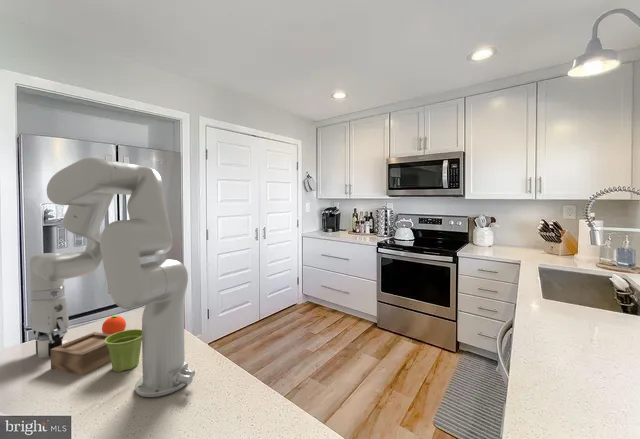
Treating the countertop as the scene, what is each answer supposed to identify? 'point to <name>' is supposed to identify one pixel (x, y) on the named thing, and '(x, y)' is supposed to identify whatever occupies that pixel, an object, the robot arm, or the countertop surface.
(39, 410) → the countertop surface
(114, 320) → the clementine
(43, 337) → the white rounded cylinder
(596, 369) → the countertop surface
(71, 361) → the tray
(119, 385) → the countertop surface
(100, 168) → the robot arm
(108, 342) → the plant pot
